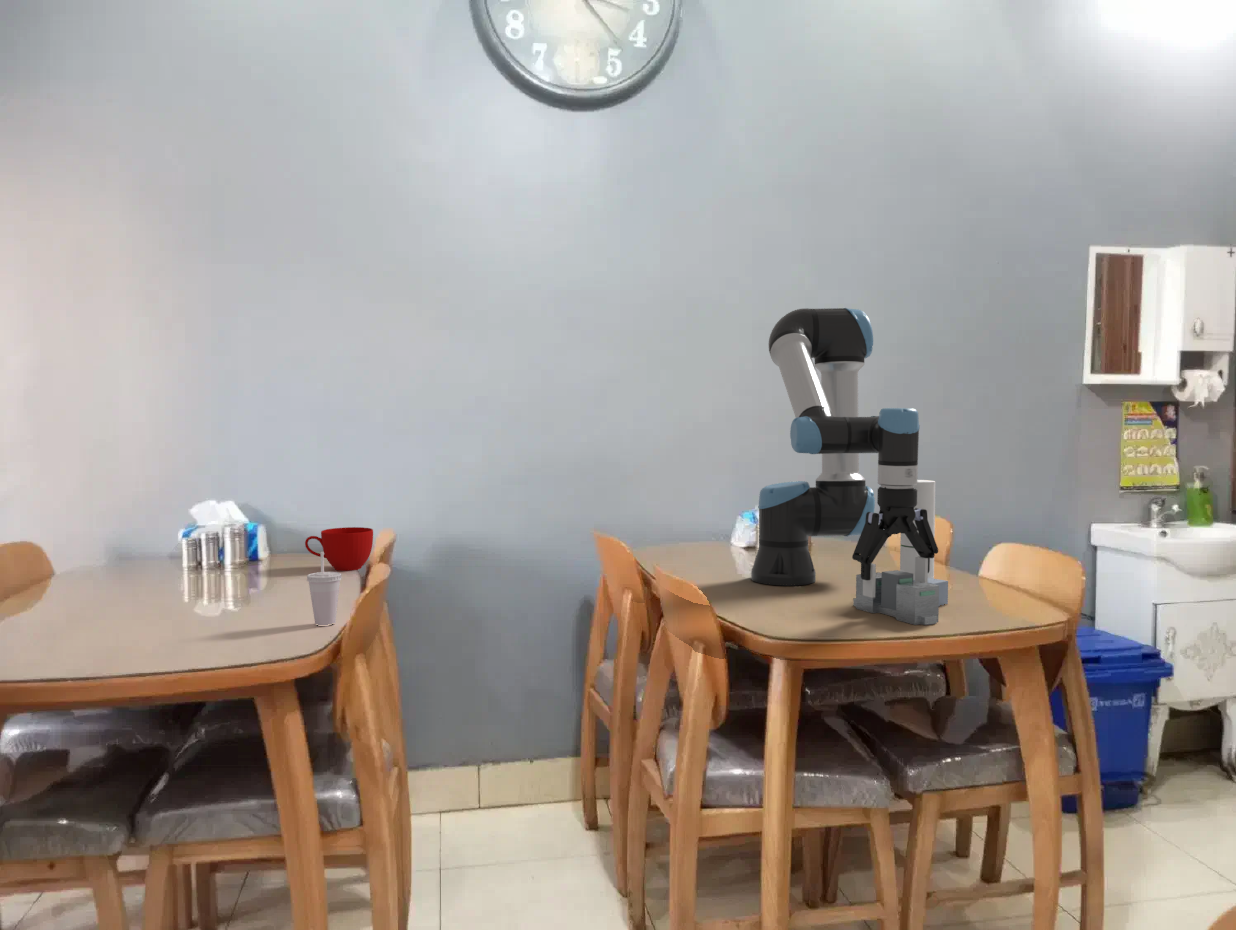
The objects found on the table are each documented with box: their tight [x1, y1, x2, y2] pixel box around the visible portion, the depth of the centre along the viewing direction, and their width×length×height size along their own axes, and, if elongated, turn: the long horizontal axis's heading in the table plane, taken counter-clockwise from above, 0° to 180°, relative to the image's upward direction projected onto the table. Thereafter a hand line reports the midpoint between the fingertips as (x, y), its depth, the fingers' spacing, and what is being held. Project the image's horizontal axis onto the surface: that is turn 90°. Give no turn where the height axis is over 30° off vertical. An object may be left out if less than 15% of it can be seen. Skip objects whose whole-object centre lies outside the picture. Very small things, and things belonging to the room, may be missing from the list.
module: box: [881, 569, 913, 610], centre depth 185 cm, size 5×4×7 cm
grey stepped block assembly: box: [852, 571, 940, 626], centre depth 186 cm, size 20×6×7 cm, turn 27°
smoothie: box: [306, 551, 342, 625], centre depth 179 cm, size 6×6×14 cm
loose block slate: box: [913, 578, 949, 607], centre depth 196 cm, size 5×5×5 cm
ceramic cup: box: [304, 526, 374, 572], centre depth 241 cm, size 13×17×10 cm
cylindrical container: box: [899, 479, 936, 580], centre depth 205 cm, size 7×7×25 cm
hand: (895, 592), depth 185 cm, fingers open, 13 cm apart
